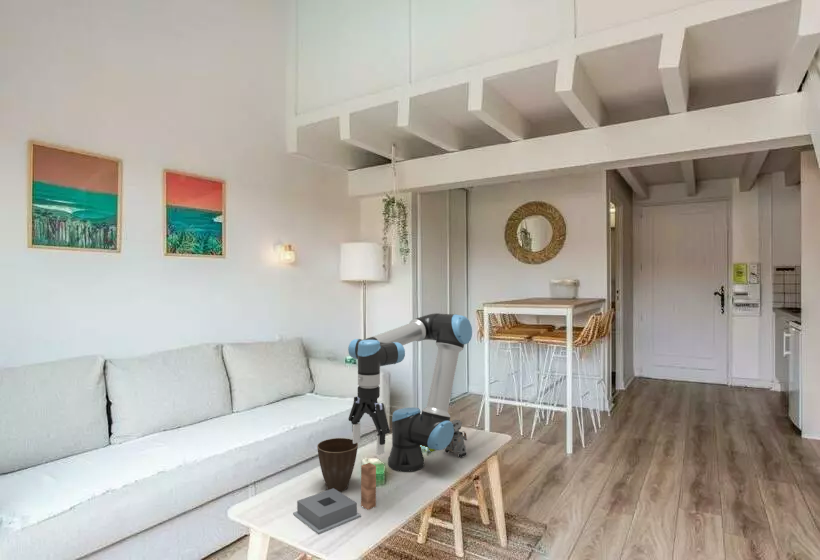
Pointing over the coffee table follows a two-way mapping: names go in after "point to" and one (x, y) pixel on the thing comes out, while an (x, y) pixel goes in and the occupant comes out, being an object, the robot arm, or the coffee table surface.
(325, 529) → the socket block
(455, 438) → the figurine
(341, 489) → the plant pot
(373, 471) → the peg
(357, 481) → the coffee table surface
